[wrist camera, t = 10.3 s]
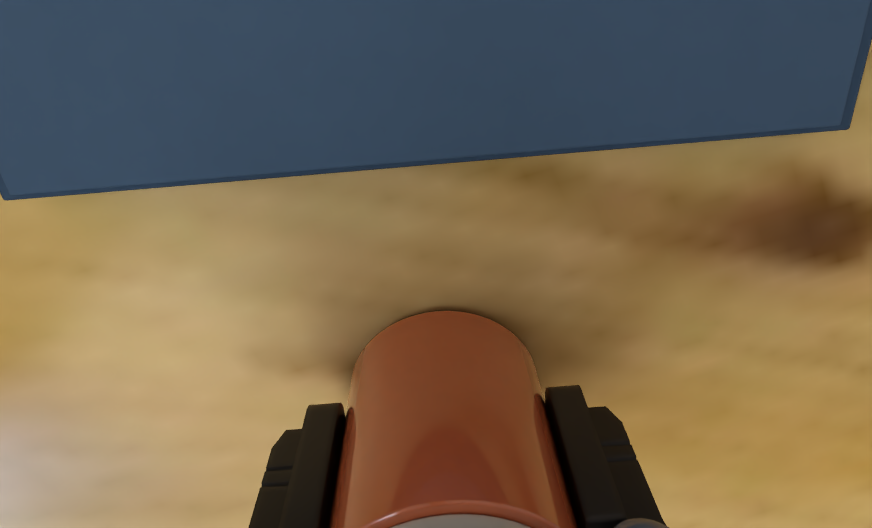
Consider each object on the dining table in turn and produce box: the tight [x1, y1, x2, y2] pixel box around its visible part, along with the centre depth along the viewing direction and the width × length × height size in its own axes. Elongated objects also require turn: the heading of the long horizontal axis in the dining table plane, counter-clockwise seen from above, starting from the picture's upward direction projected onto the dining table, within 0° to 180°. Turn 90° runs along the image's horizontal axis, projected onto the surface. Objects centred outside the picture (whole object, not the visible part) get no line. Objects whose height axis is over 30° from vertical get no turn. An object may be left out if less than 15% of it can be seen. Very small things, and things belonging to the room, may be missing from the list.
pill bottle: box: [328, 311, 579, 528], centre depth 12 cm, size 5×5×6 cm
